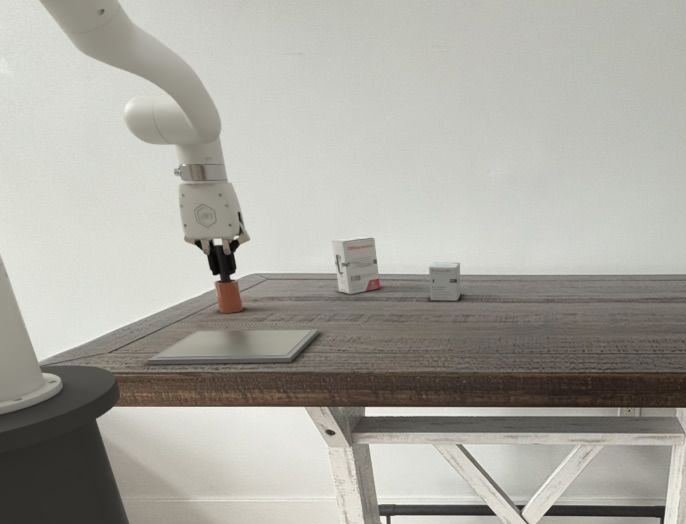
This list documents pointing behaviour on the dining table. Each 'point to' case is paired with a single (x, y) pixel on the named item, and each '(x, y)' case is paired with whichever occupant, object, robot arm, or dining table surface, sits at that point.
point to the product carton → (444, 281)
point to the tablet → (237, 347)
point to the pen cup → (228, 296)
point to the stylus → (221, 264)
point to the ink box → (356, 264)
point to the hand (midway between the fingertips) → (224, 273)
